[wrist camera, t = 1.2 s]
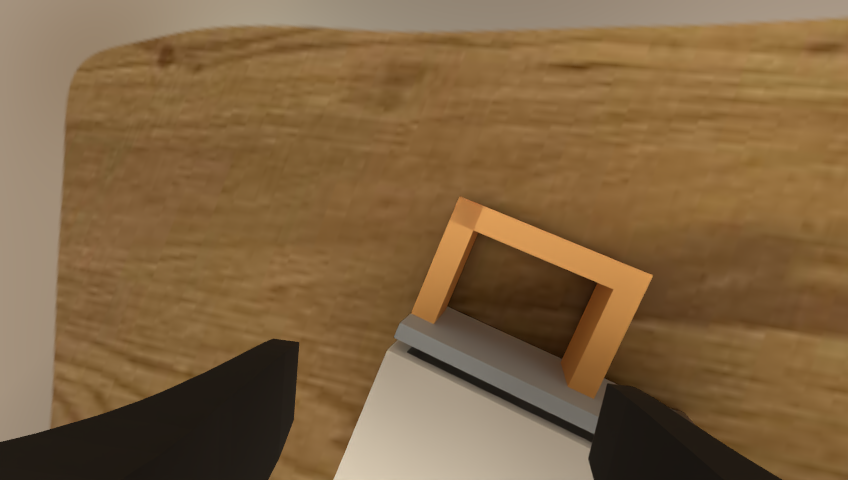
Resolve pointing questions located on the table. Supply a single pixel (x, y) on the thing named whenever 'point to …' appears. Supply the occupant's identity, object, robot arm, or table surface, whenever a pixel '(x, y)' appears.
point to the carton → (456, 429)
